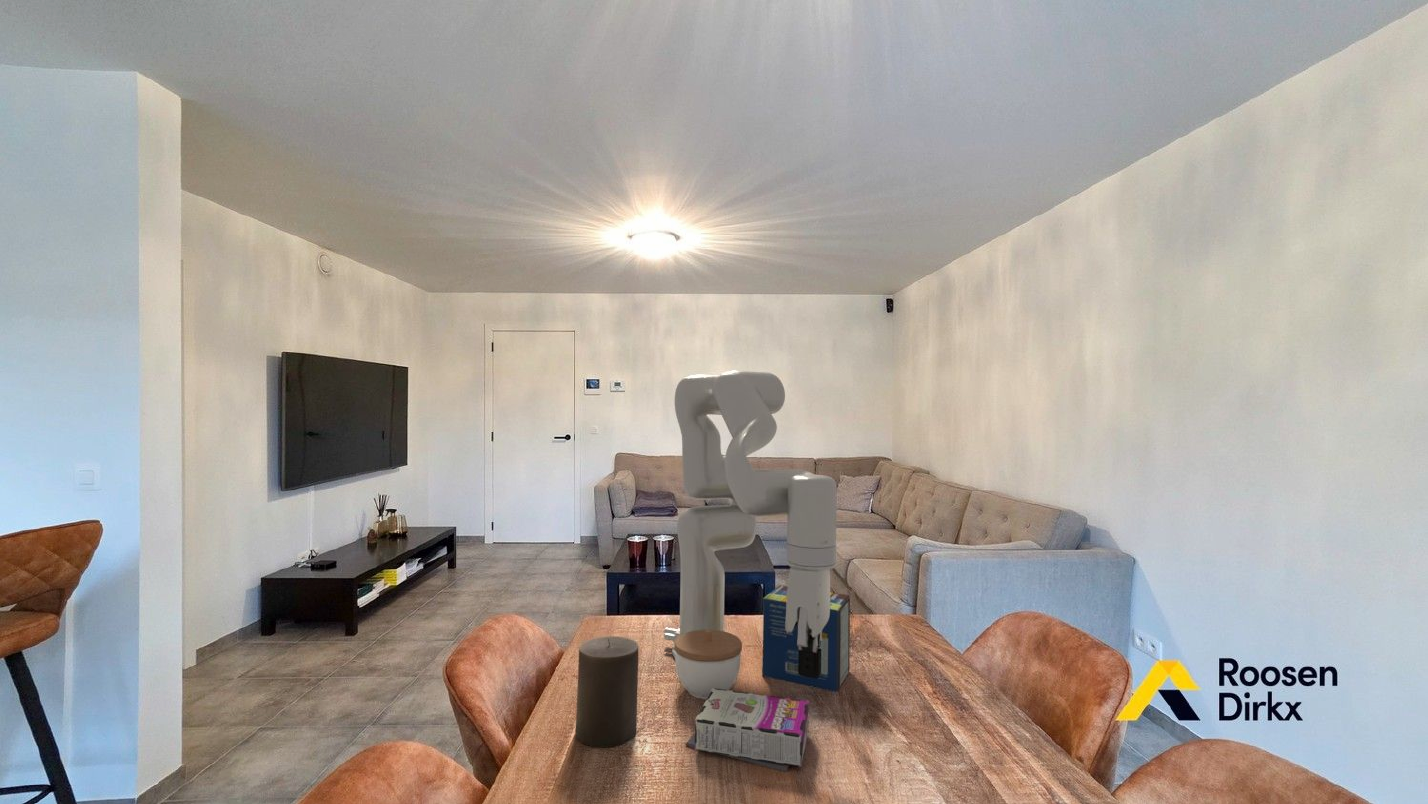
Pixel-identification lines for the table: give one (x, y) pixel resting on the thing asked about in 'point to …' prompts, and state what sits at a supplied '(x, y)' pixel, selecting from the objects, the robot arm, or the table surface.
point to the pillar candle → (607, 691)
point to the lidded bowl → (707, 661)
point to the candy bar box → (753, 726)
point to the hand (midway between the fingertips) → (809, 674)
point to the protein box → (784, 649)
